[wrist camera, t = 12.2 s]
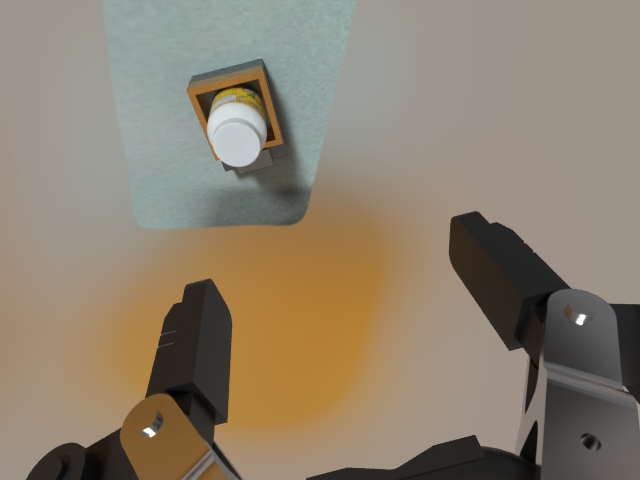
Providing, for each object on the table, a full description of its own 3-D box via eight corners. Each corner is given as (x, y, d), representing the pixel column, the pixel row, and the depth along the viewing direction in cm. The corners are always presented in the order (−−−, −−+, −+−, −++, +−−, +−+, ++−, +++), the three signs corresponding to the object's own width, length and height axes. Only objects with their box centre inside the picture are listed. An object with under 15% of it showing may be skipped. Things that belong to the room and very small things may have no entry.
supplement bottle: (202, 95, 35) (190, 129, 28) (249, 73, 35) (250, 102, 27) (229, 141, 39) (224, 183, 31) (273, 122, 38) (278, 160, 31)
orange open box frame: (192, 76, 37) (185, 90, 33) (261, 58, 37) (263, 70, 33) (226, 160, 43) (224, 181, 39) (285, 145, 43) (289, 164, 39)
